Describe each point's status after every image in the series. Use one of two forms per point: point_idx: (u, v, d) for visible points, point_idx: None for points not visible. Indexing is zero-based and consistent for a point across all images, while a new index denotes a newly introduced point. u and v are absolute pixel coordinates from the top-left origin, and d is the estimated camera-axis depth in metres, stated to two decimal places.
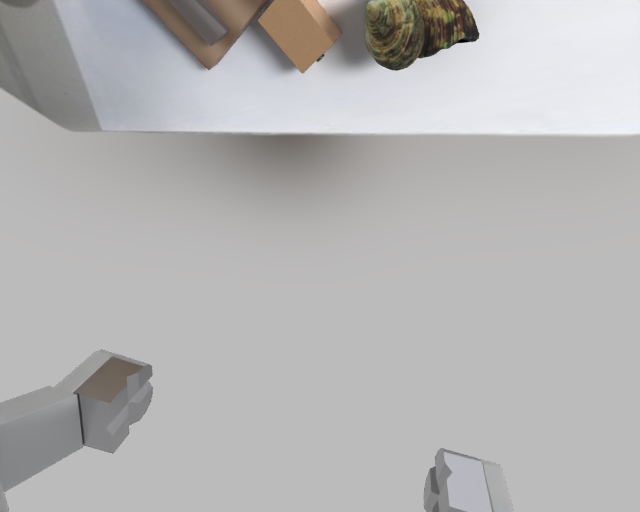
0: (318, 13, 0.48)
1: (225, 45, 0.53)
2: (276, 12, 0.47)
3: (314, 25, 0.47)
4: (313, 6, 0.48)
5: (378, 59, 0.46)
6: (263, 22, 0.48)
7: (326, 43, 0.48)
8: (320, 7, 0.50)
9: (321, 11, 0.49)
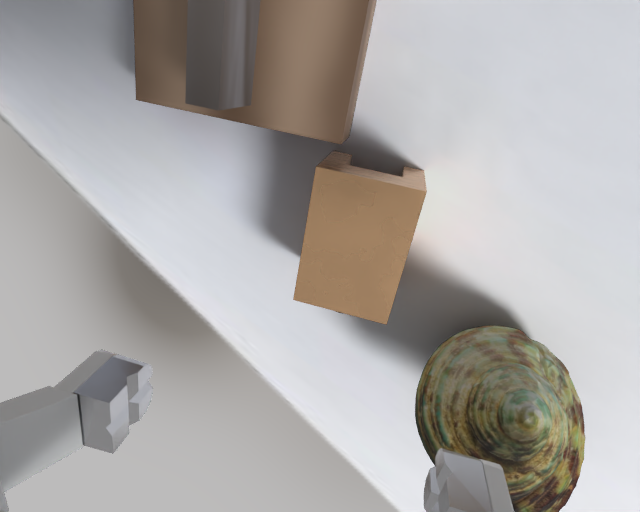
0: None
1: (212, 111, 0.22)
2: (359, 196, 0.20)
3: (390, 279, 0.22)
4: None
5: (431, 437, 0.22)
6: (322, 181, 0.20)
7: (376, 312, 0.23)
8: None
9: None
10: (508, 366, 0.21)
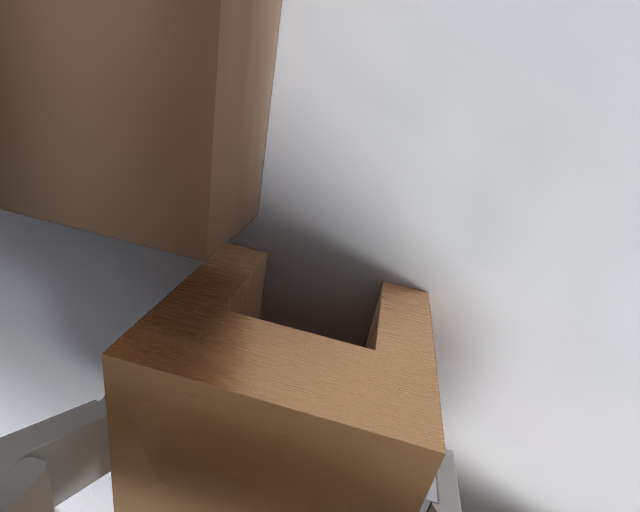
0: None
1: None
2: (240, 439, 0.07)
3: None
4: None
5: None
6: (129, 391, 0.07)
7: None
8: None
9: None
10: None
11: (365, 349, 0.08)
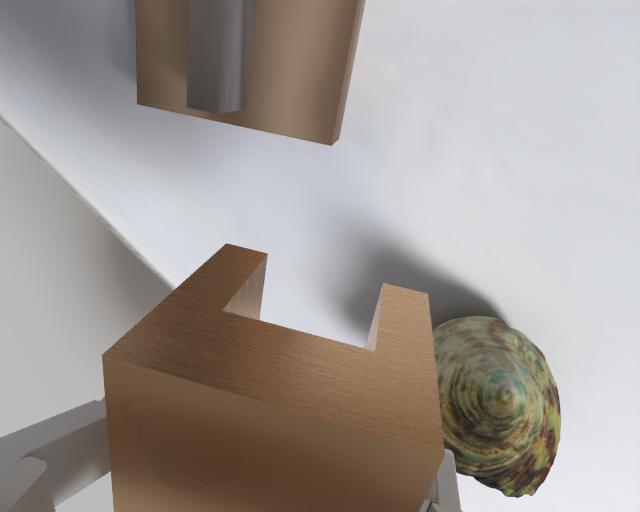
0: None
1: (210, 115, 0.23)
2: (240, 440, 0.07)
3: None
4: None
5: None
6: (129, 392, 0.07)
7: None
8: None
9: None
10: (488, 350, 0.22)
11: (365, 350, 0.08)
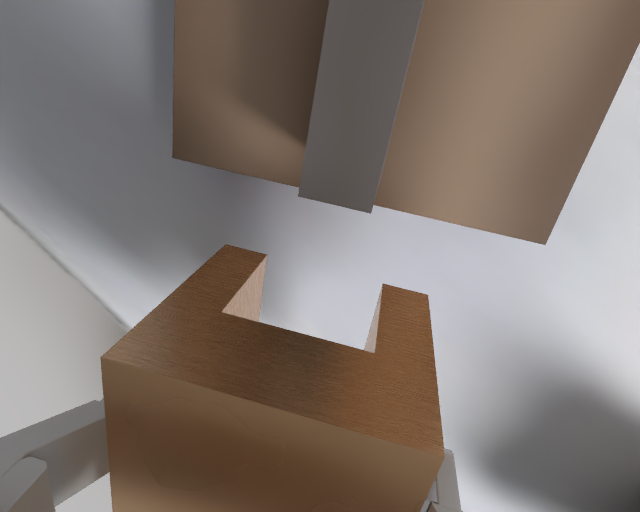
0: None
1: None
2: (239, 443, 0.07)
3: None
4: None
5: None
6: (127, 394, 0.07)
7: None
8: None
9: None
10: None
11: (364, 352, 0.08)
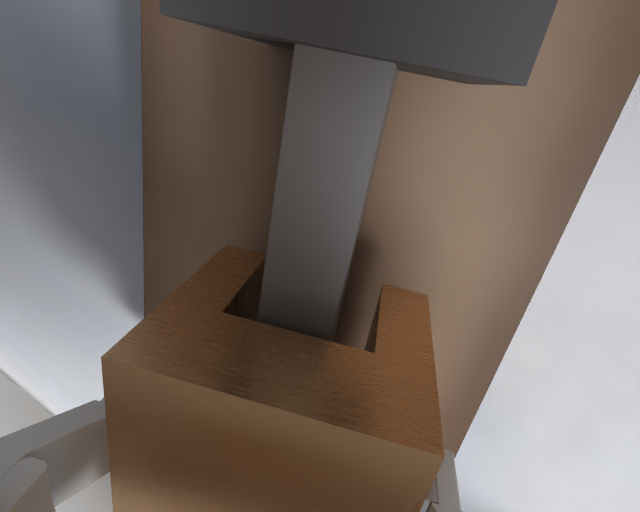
0: None
1: None
2: (239, 442, 0.07)
3: None
4: None
5: None
6: (128, 394, 0.07)
7: None
8: None
9: None
10: None
11: (364, 352, 0.08)
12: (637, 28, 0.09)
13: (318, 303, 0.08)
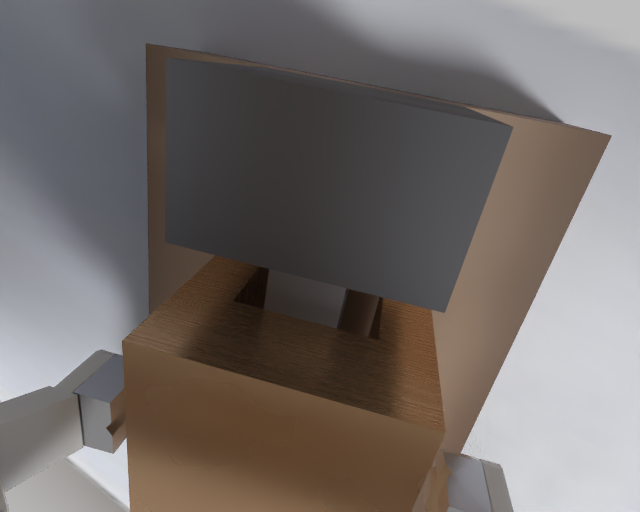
0: None
1: None
2: (252, 422, 0.07)
3: None
4: None
5: None
6: (147, 376, 0.07)
7: None
8: None
9: None
10: None
11: (369, 338, 0.08)
12: (567, 185, 0.10)
13: None
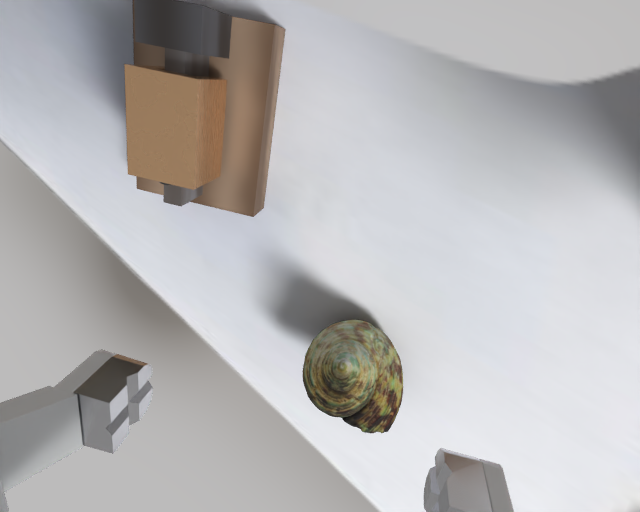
0: (208, 140, 0.32)
1: None
2: (156, 85, 0.28)
3: (188, 151, 0.30)
4: (210, 127, 0.31)
5: (306, 383, 0.38)
6: (130, 75, 0.28)
7: (185, 180, 0.31)
8: (219, 132, 0.33)
9: (216, 138, 0.33)
10: (345, 341, 0.37)
11: None
12: (267, 42, 0.31)
13: None
